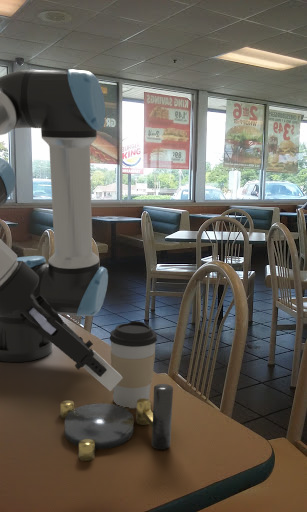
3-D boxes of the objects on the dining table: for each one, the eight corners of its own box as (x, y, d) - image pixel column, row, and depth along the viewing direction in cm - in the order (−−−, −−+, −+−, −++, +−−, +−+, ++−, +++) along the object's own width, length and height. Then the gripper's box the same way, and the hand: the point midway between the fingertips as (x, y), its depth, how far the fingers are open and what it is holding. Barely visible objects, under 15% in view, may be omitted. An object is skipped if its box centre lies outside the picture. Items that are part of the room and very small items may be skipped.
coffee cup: (148, 413, 87) (152, 335, 84) (101, 407, 88) (103, 330, 86) (158, 393, 95) (161, 321, 93) (115, 387, 97) (117, 317, 95)
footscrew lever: (132, 419, 84) (134, 367, 82) (148, 417, 85) (150, 365, 83) (155, 452, 74) (158, 393, 73) (173, 448, 75) (176, 390, 74)
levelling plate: (55, 413, 85) (56, 401, 85) (116, 404, 90) (117, 393, 89) (76, 463, 71) (77, 449, 70) (148, 449, 75) (149, 436, 75)
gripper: (-24, 288, 68) (87, 384, 77) (-20, 311, 56) (110, 421, 65) (14, 251, 69) (119, 350, 78) (26, 266, 57) (147, 380, 66)
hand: (115, 382), depth 71 cm, fingers closed
